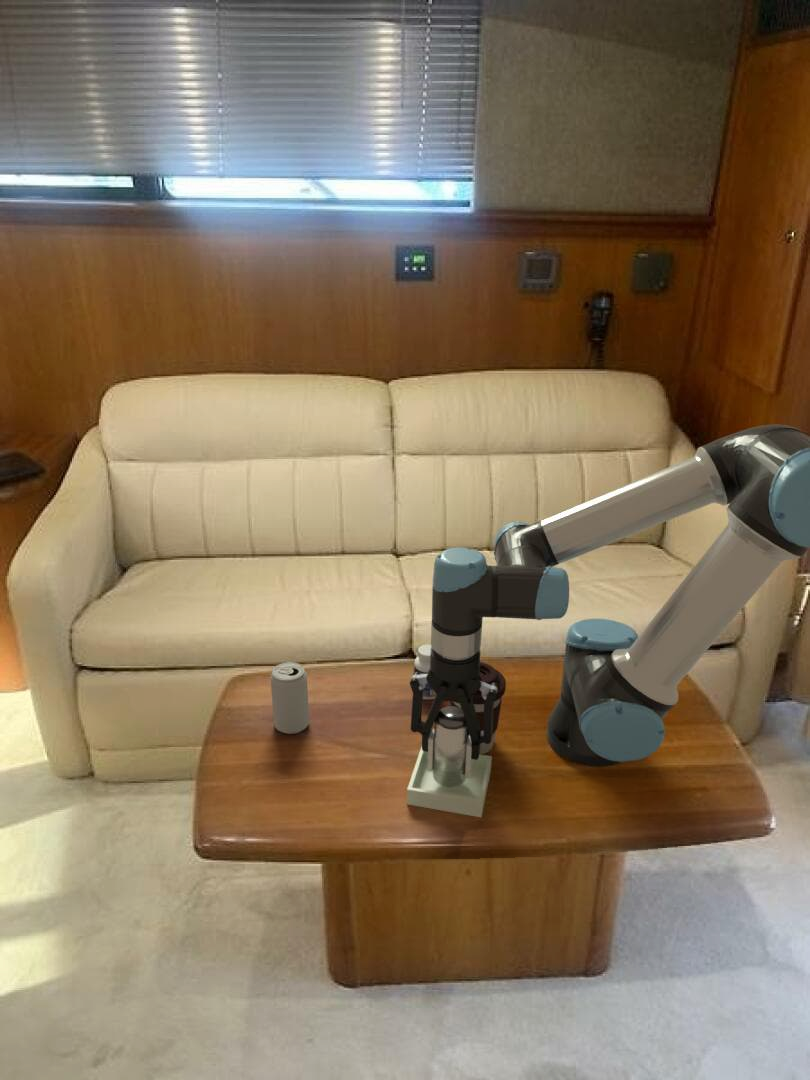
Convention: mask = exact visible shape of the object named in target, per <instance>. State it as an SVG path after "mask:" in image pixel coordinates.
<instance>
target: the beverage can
mask: <svg viewBox="0 0 810 1080" xmlns="http://www.w3.org/2000/svg"><path fill="white" fill-rule="evenodd" d="M270 687H271V688H270V689H271V701H272V713H273V724H274V728H275V729H276V730H277V731H278V732H281V733H283V734H286V735H287V734H288V735H294V734H298V733H301V732H302V731H304V730H305V729H306V728H307V727H308V726H309V724H310V709H309V706H310V705H309V693H308V692H309V691H308V688H309V687H308V674H307V672H306V671H305V668H304V666H303V665H302V664H301V663H298V662H295V661H294V662H293V661H288V662H283V663H279V664H277V665H276V666H275V667H273V669H272V673H271V675H270Z"/></svg>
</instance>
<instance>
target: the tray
mask: <svg viewBox="0 0 810 1080" xmlns="http://www.w3.org/2000/svg"><path fill="white" fill-rule="evenodd" d="M492 759H493V757H492V756H491V755H486V754H481V755H480V754H479V758H478V759H477V760H475V759H473V762H472V770H471V774H470V778H466V780H465V781H464V783H462V784H461V785H459V786H456V787H446V786H442V785H440V784H438V783H437V782H436V781H435V780H434V778H433V770H432V772H430V771H427V767H428V752H425V751H423V750H422V745H421V746H420V749H419V752H418V756H417V759H416V762H415V765H414V768H413V770H412V773H411V776H410V780H409V783H408V786H407V788H406V791H407V792H406V805H408V806H415V807H419V808H426V809H432V810H437V811H443V812H448V813H454V814H460V815H464V816H471V817H478V818H482V816H483V814H484V807H485V802H486V798H487V793H488V788H489V787H488V786H489V782H490V777H491V774H492V773H491V771H492Z"/></svg>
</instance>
